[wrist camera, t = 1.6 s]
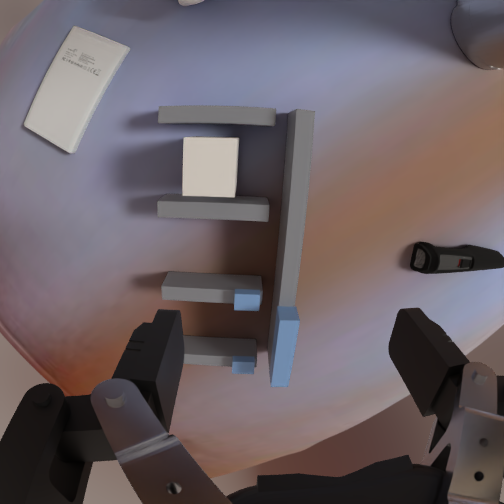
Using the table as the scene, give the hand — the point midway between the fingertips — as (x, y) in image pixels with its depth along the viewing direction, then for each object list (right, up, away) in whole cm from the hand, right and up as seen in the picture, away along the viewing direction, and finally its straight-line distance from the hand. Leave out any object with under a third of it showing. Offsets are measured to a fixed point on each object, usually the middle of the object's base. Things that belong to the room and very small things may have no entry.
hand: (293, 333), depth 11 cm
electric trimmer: (+25, +3, +23) cm, 34 cm away
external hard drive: (-20, +21, +15) cm, 33 cm away
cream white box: (-5, +12, +18) cm, 22 cm away
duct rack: (-4, +4, +22) cm, 22 cm away
